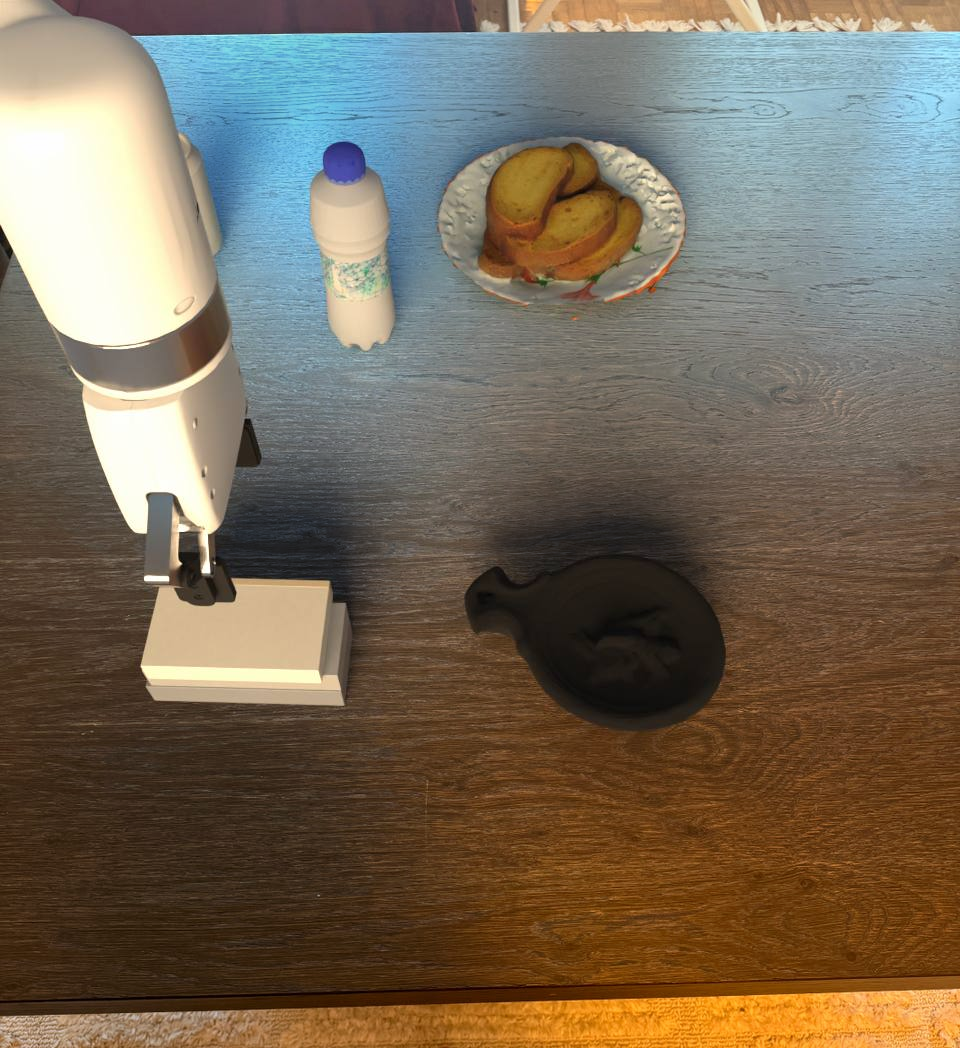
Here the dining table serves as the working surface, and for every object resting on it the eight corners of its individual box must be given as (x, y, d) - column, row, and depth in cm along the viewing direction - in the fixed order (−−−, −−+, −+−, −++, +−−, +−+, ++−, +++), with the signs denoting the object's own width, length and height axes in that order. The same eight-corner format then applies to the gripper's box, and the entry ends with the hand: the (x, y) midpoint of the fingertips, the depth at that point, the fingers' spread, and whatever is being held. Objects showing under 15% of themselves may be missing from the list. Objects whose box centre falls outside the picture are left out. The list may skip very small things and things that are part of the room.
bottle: (359, 298, 94) (336, 112, 78) (413, 327, 92) (402, 142, 76) (314, 338, 91) (280, 154, 75) (369, 369, 89) (347, 186, 73)
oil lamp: (500, 536, 79) (502, 501, 75) (733, 611, 76) (749, 579, 71) (431, 692, 71) (429, 663, 67) (688, 785, 68) (702, 760, 64)
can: (237, 257, 97) (211, 153, 88) (168, 285, 95) (133, 181, 85) (205, 216, 101) (176, 112, 91) (137, 242, 98) (101, 138, 88)
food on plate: (712, 302, 95) (728, 249, 89) (464, 337, 92) (464, 285, 86) (638, 146, 109) (647, 92, 103) (420, 171, 106) (417, 117, 100)
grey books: (154, 700, 71) (135, 671, 67) (170, 628, 74) (153, 596, 70) (344, 706, 71) (337, 677, 67) (352, 633, 74) (346, 601, 70)
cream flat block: (148, 678, 66) (139, 666, 65) (168, 590, 70) (161, 575, 69) (322, 683, 66) (318, 670, 65) (333, 594, 70) (330, 580, 69)
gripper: (105, 193, 48) (188, 415, 63) (3, 466, 39) (129, 656, 53) (254, 195, 48) (303, 417, 63) (189, 470, 39) (265, 659, 53)
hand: (223, 527), depth 58 cm, fingers open, 9 cm apart
